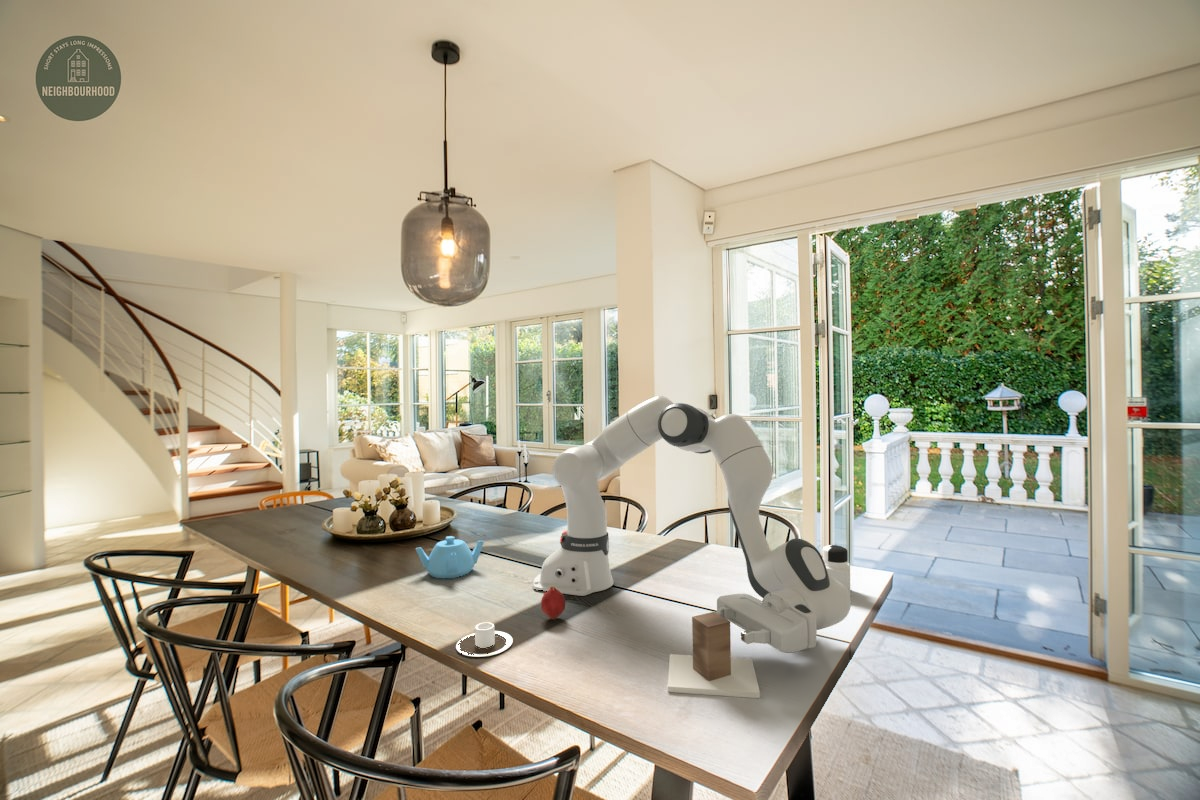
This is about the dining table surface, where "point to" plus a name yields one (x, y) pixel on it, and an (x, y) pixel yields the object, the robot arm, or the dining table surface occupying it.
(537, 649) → the dining table surface
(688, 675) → the serving plate
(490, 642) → the candle holder
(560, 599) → the onion
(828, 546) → the medicine bottle
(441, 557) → the teapot
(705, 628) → the walnut block
